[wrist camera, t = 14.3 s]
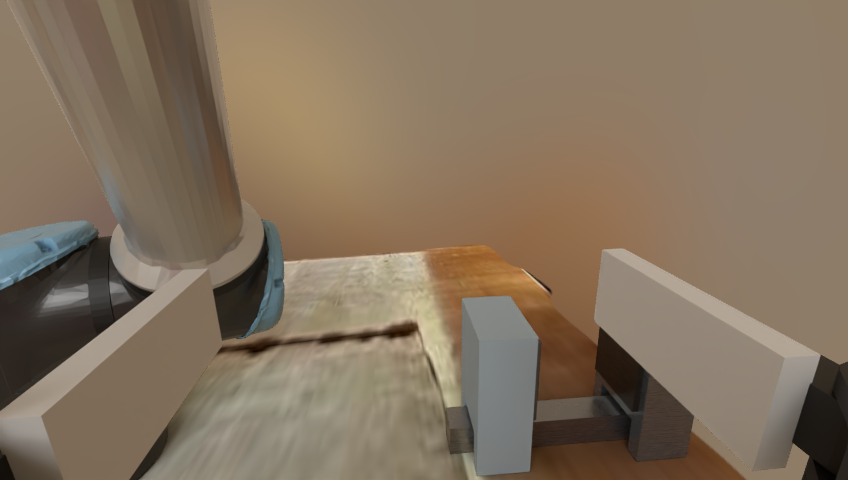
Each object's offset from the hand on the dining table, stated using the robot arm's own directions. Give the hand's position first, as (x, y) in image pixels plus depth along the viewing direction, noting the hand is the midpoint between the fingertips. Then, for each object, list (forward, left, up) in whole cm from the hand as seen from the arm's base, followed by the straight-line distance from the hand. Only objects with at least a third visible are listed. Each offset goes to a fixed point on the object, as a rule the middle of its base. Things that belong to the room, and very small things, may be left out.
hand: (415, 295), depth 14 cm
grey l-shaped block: (0, +26, -26) cm, 37 cm away
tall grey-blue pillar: (-5, +22, -26) cm, 34 cm away
